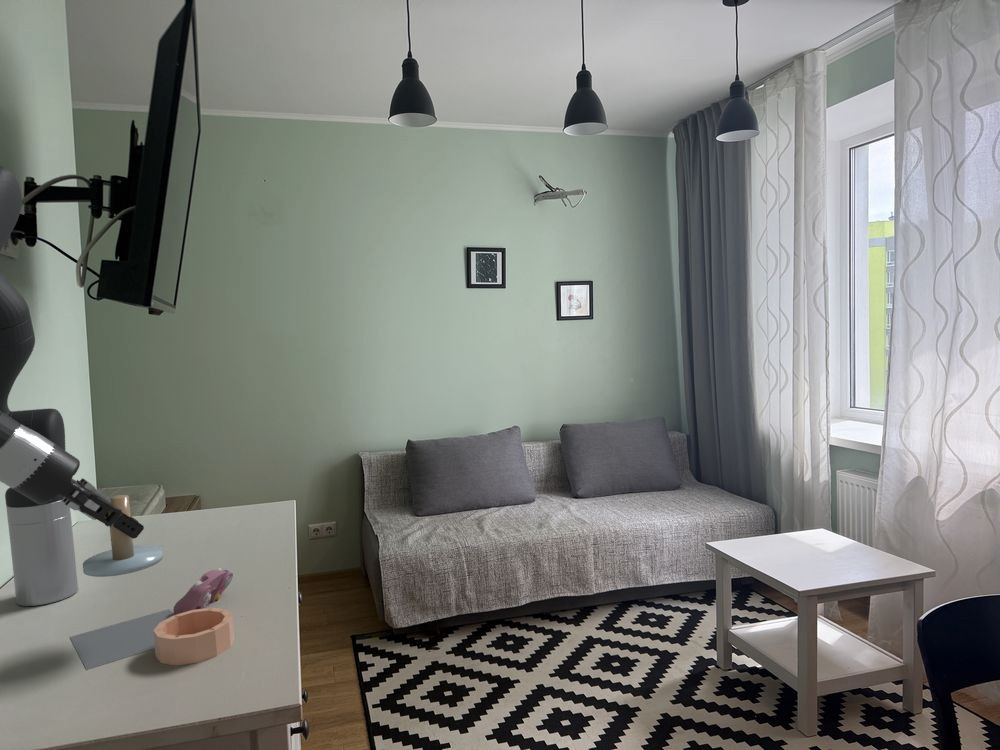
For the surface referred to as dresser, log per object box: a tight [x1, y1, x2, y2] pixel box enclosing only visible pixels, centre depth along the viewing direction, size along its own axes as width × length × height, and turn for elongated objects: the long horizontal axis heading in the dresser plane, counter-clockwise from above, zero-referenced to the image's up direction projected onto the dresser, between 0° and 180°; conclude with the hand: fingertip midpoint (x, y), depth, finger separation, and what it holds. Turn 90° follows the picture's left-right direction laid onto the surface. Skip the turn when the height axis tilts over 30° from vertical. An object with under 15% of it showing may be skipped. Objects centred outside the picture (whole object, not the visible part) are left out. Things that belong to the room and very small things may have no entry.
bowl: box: [153, 607, 236, 666], centre depth 99 cm, size 10×10×4 cm
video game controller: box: [173, 567, 234, 615], centre depth 115 cm, size 10×5×7 cm, turn 170°
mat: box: [69, 608, 175, 671], centre depth 104 cm, size 14×14×1 cm
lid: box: [82, 494, 164, 578], centre depth 103 cm, size 10×10×10 cm
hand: (136, 530), depth 104 cm, fingers closed on lid, 2 cm apart
